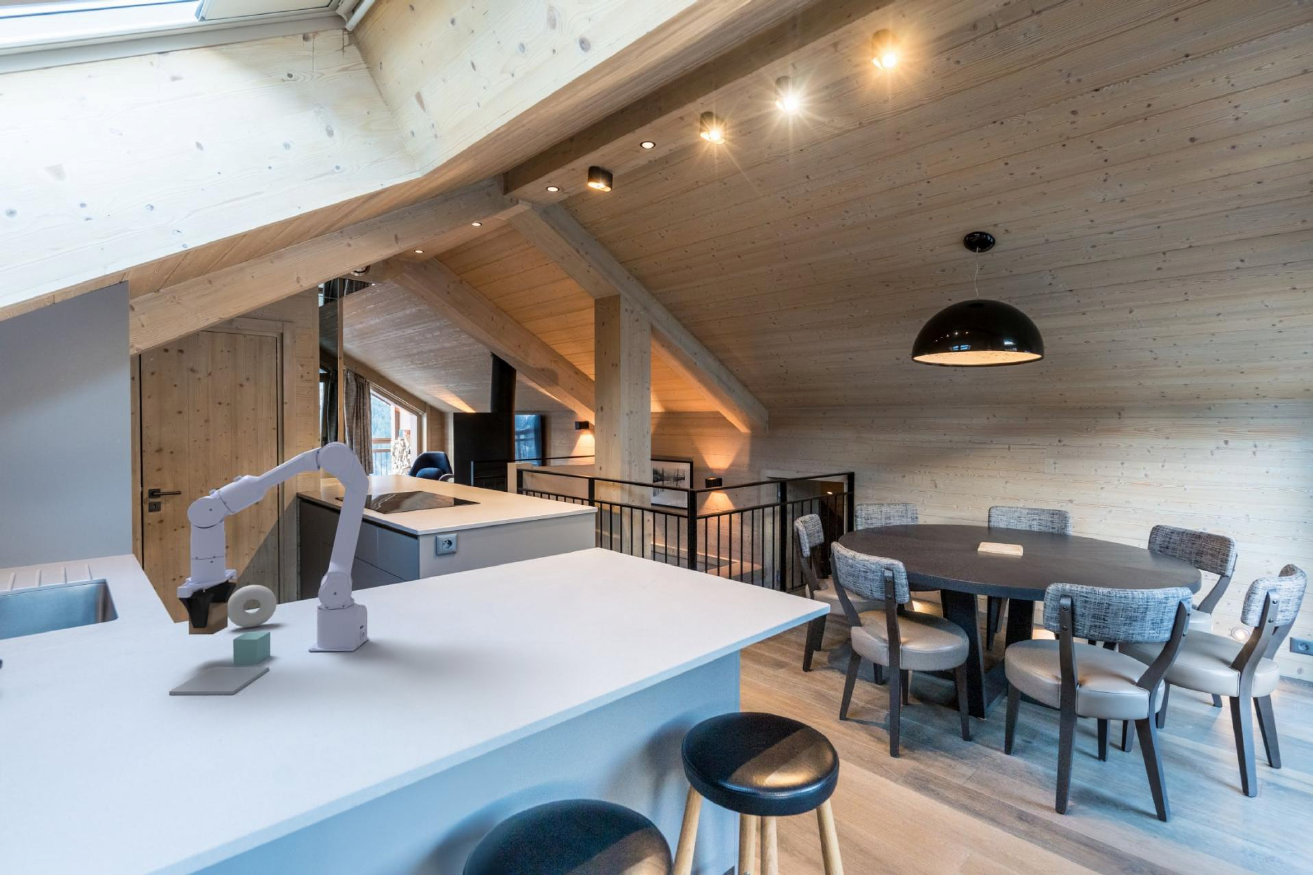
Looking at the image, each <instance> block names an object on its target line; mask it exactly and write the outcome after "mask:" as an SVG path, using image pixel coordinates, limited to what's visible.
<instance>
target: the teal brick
mask: <svg viewBox="0 0 1313 875" xmlns="http://www.w3.org/2000/svg"><path fill="white" fill-rule="evenodd" d="M232 648H233V649H232V650H233V652H232V654H233V655H232V658H233V659H232V660H233V665H238V664H239V665H249V664H250V665H258V664H259V663H260V662H262V661H264V660H266V659H267V658H269V657H270V656H271V631H246V632H244V633H243V634H240V635H239V636H237V637H235V638H234V639H233V640H232Z"/></svg>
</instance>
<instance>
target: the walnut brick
mask: <svg viewBox="0 0 1313 875" xmlns="http://www.w3.org/2000/svg"><path fill="white" fill-rule="evenodd" d="M228 620H229V617H228V603H210V606H209V611H208V621H207V625H206V627H205V628H193V625H192V622H191V619H190V616H189V615H188V635H189V636H190V635H202V636H203V635H206V636H207V635H214V634H216V633H218V632H220V631H223V630H225V629H226V628H228V626H229V623H228V622H229V621H228Z"/></svg>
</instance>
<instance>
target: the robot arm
mask: <svg viewBox="0 0 1313 875" xmlns="http://www.w3.org/2000/svg"><path fill="white" fill-rule="evenodd" d="M320 469H323V471H325V472H327V473H328V474H330V475H332V476H334V477H335V478H336V479H337V481H338V482H339V483H341V486H343V487H344V489H345V490H344V495H343V500H342V504H341V509H340V515H339V518H338V522H337V528H336V533H335V538H334V542H333V547H332V551H331V556H330V560H329V567H328V569H327V572H326V573H325V574H324V576H323V577H322V579H321V581H320V587H319V588H318V593H317V597H318V600H319V602H318V603H316V617H317V618H316V643H314V644H313V645H311V646H310V647H309V648H308V652H353V651H355V650H356V649H358V648H359V647H360V646H361V645H363V644H364V643H365V642H366V641H367V640H368V639H369V638H370V637H369V636H368V609H367V606H366V605H365V604H359V603H356V602H355V598H353V596H352V595H353V594H352V593H353V589H352V587H353V578H352V568H353V563H354V558H355V553H356V549H357V544H358V540H359V536H360V531H361V530H360V529H361V525H362V521H363V515H364V510H365V506H366V501H367V497H368V491H369V486H370V481H369V477H368V474H366V471H365V469H364V466H363V465H362V463H361V462H360V459H359V457H358V455H357V453H355V452H354V450H352V449H351V447H350V446H348V445H347V444H346V443H344V442H341V441H332V442H329V443H327V444H326V445H324V446H323V447H322V446H319V447H316V448H314V449H311V450H308V451H305V452H302V453H300V454H298V455H296V456H294V457H293V458H291V459H289V460H287V461H286V462H283V463H282V464H280V465H278V466H276V467H274V468H273V469H270V470H269V471H267V472H265V473H263V474H261V475H260V476H255V475H250V474H247V475H244V476H241V475H238V476H236V477H234V478H233V482H230V483H228V484H226V485H225V486H223V487H221V488H219V489H217V490H216V489H212V490H210V491H209V492H208V493H209V495H206V496H203V497H200V498H198V499H196V500H194V501H193V502H192V503H191V504H190V506H189V507H188V509H187V513H186V514H187V518H188V521H189V522H190V538H189V539H190V540H189V541H190V577H187V578H185V583H183V584H182V585H181V586H178V587H177V588H176V598H178V600H179V601H180V602H181V604H182V605H183V606H184V608H185V610H186V612H187V613H188V617H189V616H190V619H191V622H192V625H193V628H205V627H206V625H207V621H208V611H209V606H210V603H228V601H229V599H230V597H231V596H232V595H233V592H234V591H235V589H236V587H237V582H234V581H233V580H236V579H237V569H227V567H226V566H227V565H226V556H227V555H226V531H225V518H226V517H227V516H228V515H229V516H233V515H235V514H237V513H239V512H240V511H243V510H244V509H246V508H248V507H251V506H252V505H254V504H256V503H257V502H260V501H262V500H264V498H265V496H266V492H267V490H268V489H271V488H273V487H274V486H277V485H279V484H281V483H283V482H285V481H286V480H289V479H291V478H293V477H294V476H297V475H299V474H301V473H303V472H319V471H320Z"/></svg>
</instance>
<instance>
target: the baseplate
mask: <svg viewBox="0 0 1313 875" xmlns="http://www.w3.org/2000/svg"><path fill="white" fill-rule="evenodd" d="M268 671H270V667H269V666H210V667H209V668H207V669H205V670H204V671H202V672H200V673H199V674H197V675H194V676H193V677H192V678H190V679H188V680H187V681H185V682H183V683H182V684H179V685H178V686H176V687H174V688H173V689H171V690H169V691H168V695H170V696H175V695H178V696H179V695H180V696H183V695H185V696H186V695H188V696H189V695H190V696H191V695H192V696H195V695H198V696H201V695H202V696H203V695H206V696H207V695H211V696H215V695H217V696H218V695H219V696H221V695H222V696H223V695H224V696H225V695H230V696H231V695H232V696H233V695H235V694H236V693H238V692H239V691H240V690H242V689H244V688H245V687H246V686H248V685H249V684H251V683H252V682H254V681H255V680H257V679H258V678H259V677H261V676H262V675H264V674H266V673H267V672H268Z"/></svg>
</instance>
